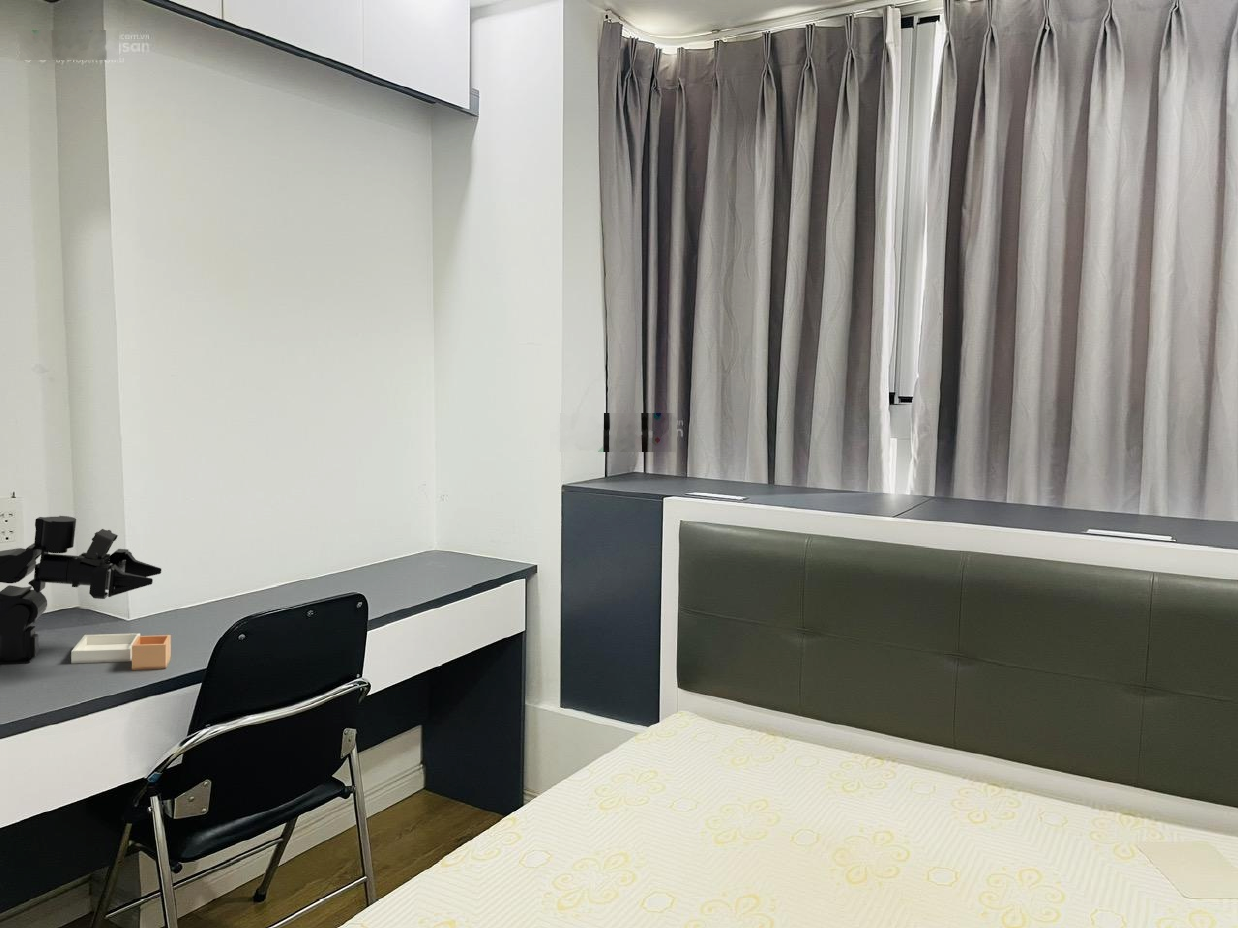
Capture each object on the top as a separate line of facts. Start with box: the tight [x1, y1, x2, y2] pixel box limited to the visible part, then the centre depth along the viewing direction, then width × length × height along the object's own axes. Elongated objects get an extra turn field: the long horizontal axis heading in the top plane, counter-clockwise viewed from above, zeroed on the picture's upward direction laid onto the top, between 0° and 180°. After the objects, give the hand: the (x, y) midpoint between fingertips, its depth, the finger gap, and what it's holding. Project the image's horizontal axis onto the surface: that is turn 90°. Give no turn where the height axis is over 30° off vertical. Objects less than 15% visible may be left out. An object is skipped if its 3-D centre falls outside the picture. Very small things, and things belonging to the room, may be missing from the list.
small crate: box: [131, 634, 172, 671], centre depth 180 cm, size 6×6×5 cm
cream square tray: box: [70, 633, 141, 664], centre depth 184 cm, size 10×10×2 cm
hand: (156, 576), depth 184 cm, fingers open, 9 cm apart
